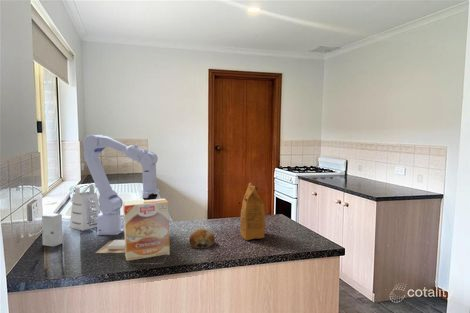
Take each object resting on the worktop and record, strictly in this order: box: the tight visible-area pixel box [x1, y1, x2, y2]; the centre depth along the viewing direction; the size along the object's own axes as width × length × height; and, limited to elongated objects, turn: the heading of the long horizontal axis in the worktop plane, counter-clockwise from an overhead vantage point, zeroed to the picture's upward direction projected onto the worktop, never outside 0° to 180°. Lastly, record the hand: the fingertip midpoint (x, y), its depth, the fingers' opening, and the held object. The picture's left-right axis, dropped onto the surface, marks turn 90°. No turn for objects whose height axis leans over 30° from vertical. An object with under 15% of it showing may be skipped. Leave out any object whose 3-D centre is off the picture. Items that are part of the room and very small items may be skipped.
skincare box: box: [41, 212, 63, 247], centre depth 130 cm, size 6×4×12 cm
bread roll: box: [188, 228, 216, 249], centre depth 127 cm, size 10×10×8 cm
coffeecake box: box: [122, 198, 171, 261], centre depth 116 cm, size 15×7×20 cm, turn 114°
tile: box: [107, 239, 125, 250], centre depth 125 cm, size 7×2×7 cm
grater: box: [69, 183, 101, 231], centre depth 155 cm, size 10×10×20 cm
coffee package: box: [239, 182, 266, 241], centre depth 135 cm, size 10×12×22 cm
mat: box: [94, 239, 125, 254], centre depth 125 cm, size 14×14×1 cm
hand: (150, 211), depth 142 cm, fingers closed
